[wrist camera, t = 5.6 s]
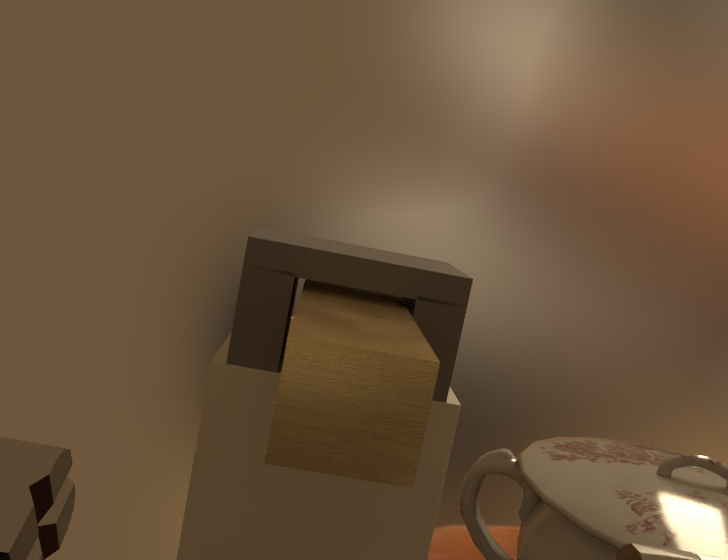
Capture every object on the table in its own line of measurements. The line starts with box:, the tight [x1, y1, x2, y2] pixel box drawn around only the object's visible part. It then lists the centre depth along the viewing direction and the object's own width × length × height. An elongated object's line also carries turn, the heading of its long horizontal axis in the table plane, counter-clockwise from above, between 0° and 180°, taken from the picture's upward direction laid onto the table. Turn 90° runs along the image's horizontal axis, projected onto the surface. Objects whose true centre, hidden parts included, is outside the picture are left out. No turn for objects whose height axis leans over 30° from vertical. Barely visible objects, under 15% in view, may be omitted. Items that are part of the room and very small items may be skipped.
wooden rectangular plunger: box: [264, 279, 440, 489], centre depth 28 cm, size 21×4×4 cm, turn 3°
